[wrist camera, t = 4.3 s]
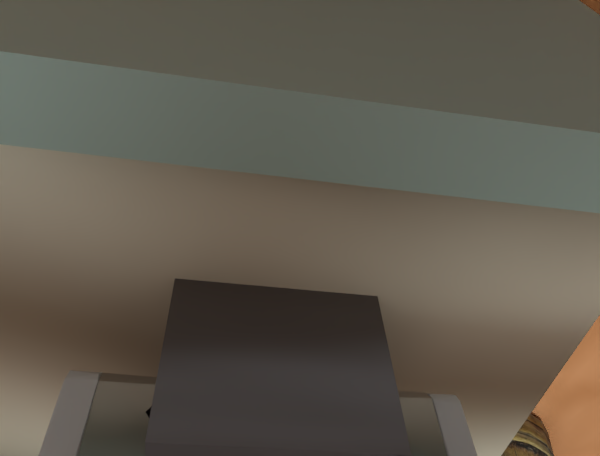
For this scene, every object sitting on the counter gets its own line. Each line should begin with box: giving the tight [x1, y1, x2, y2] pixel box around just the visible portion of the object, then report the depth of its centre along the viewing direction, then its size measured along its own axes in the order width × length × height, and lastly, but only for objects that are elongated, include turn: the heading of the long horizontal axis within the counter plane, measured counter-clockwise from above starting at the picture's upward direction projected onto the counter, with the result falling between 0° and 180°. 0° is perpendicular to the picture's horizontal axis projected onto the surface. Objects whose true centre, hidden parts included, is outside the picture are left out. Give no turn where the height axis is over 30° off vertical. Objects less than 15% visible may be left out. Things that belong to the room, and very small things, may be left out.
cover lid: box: [0, 144, 600, 456], centre depth 10 cm, size 10×12×4 cm
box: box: [0, 0, 600, 213], centre depth 13 cm, size 11×13×8 cm
